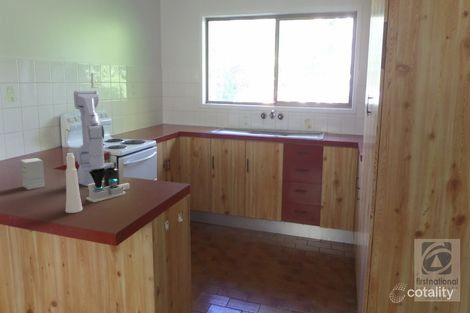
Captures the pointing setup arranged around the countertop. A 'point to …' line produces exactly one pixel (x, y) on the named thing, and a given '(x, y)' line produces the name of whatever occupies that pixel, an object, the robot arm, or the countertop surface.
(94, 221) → the countertop surface
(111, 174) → the supplement bottle
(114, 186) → the plunger inner
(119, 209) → the countertop surface
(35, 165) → the supplement box
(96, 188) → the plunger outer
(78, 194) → the cosmetic bottle
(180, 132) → the countertop surface
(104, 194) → the white knob panel
